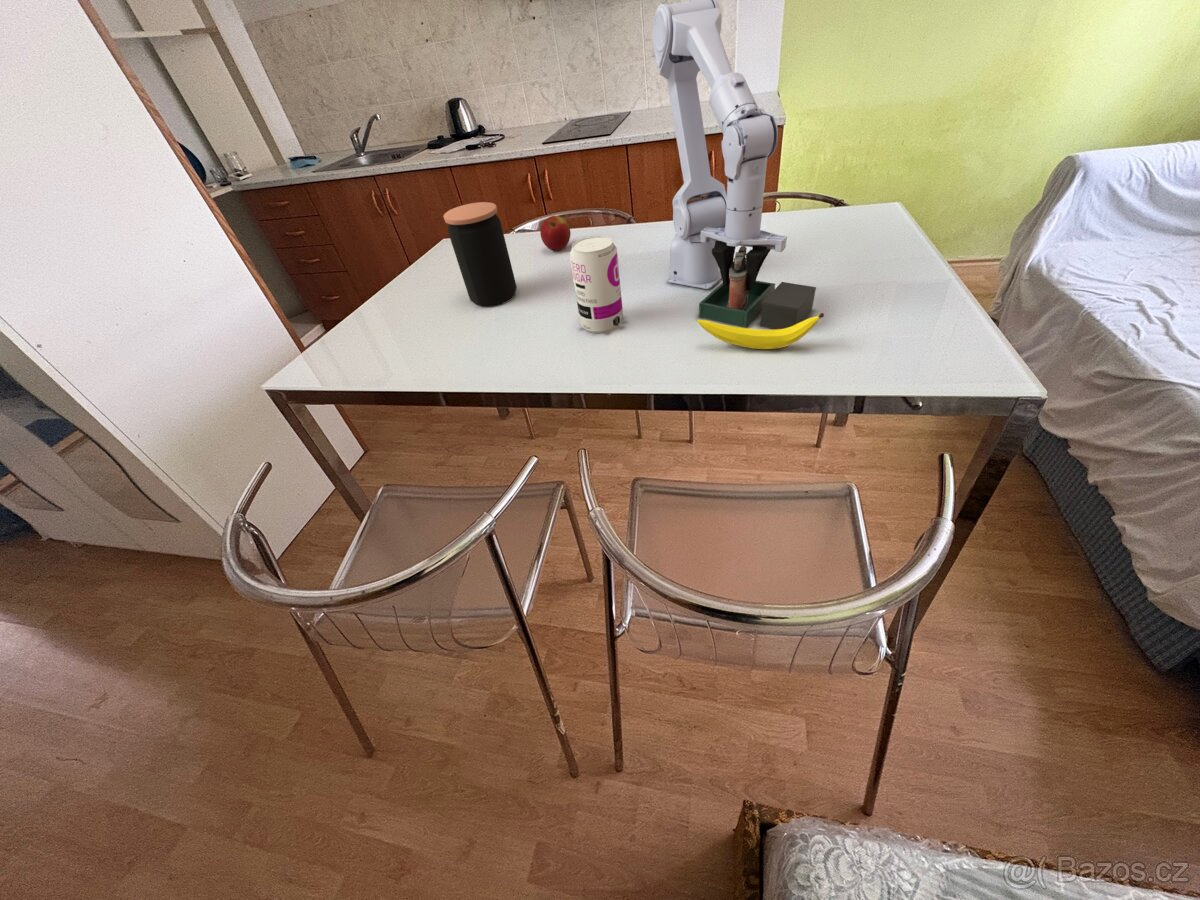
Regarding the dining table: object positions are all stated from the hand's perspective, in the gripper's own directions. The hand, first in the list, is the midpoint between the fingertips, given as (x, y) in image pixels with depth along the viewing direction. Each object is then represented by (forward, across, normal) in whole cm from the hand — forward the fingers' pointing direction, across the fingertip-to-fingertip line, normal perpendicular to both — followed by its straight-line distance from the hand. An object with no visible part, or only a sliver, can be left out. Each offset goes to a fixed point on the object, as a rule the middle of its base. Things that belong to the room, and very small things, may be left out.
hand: (738, 286), depth 87 cm
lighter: (+4, 0, 0) cm, 4 cm away
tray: (+4, 0, 0) cm, 4 cm away
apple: (+4, -54, +12) cm, 55 cm away
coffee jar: (+4, -50, -16) cm, 53 cm away
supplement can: (+4, -20, -16) cm, 26 cm away
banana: (+4, +8, -12) cm, 15 cm away
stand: (+4, +10, 0) cm, 10 cm away
